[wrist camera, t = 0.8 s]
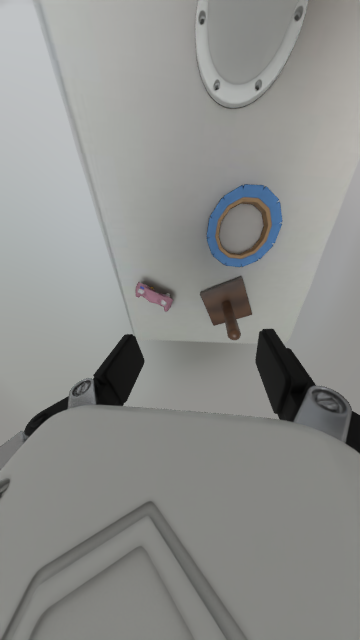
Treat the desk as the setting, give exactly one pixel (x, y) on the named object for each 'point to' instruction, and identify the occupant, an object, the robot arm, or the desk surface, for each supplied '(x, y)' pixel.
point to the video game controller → (153, 296)
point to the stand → (227, 305)
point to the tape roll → (271, 220)
